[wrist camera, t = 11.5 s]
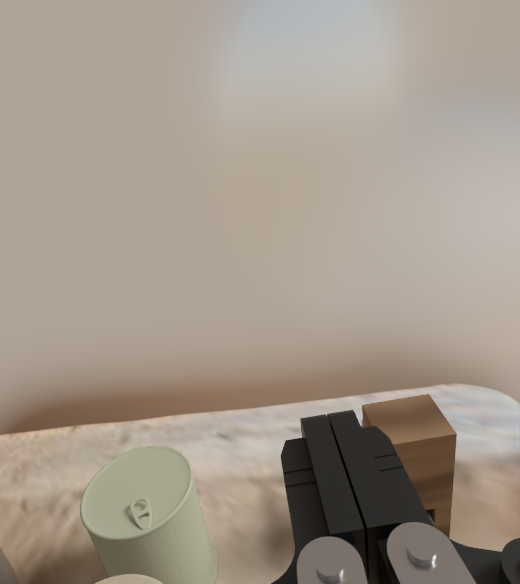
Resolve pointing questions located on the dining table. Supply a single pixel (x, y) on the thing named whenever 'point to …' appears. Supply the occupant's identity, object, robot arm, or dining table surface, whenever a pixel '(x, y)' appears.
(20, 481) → the dining table surface
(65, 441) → the dining table surface
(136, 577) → the travel mug
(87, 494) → the can
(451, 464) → the wooden rectangular block
